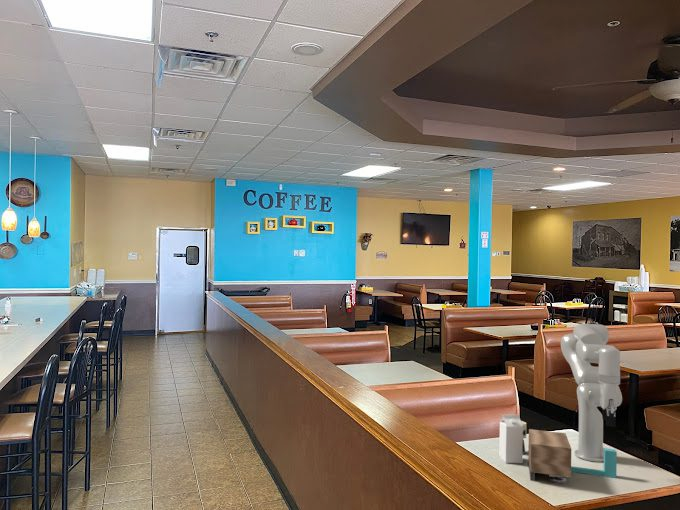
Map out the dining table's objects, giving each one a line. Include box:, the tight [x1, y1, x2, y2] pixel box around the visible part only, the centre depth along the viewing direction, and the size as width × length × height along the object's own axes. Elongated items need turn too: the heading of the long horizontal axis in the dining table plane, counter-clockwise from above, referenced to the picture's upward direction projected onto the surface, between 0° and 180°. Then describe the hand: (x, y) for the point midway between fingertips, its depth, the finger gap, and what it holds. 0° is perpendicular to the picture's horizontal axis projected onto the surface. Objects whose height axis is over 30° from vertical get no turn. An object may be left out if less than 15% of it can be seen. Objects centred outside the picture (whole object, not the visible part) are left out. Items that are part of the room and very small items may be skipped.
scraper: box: [571, 447, 618, 479], centre depth 205 cm, size 19×14×10 cm
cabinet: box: [528, 428, 572, 482], centre depth 202 cm, size 14×20×14 cm
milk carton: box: [498, 413, 524, 464], centre depth 217 cm, size 7×7×19 cm
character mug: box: [521, 420, 527, 454], centre depth 228 cm, size 11×7×13 cm, turn 157°
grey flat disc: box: [548, 474, 567, 484], centre depth 197 cm, size 6×6×1 cm
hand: (608, 423), depth 203 cm, fingers open, 9 cm apart
